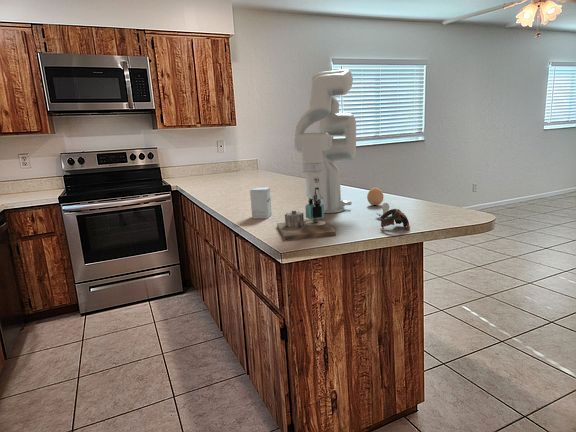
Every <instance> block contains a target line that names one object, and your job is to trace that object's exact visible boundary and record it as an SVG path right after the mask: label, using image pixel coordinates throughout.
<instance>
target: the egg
mask: <svg viewBox="0 0 576 432" xmlns="http://www.w3.org/2000/svg"><path fill="white" fill-rule="evenodd" d="M366 198H367V202H368V203H369V204H370V205H371V206H374V205H377V206H379V205H381V204H382V203H383V201H384V193H383V191H382V190H381V189H380V188H379V187H376V186H375V187H371V189H370V190H369V191H368V193H367V197H366Z"/></svg>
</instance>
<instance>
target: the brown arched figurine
mask: <svg viewBox="0 0 576 432" xmlns="http://www.w3.org/2000/svg"><path fill="white" fill-rule="evenodd" d="M382 214H383V213H382ZM391 214H392V216H391V217H389V218H387V219H385V218H386V217H387V216H389V215H391ZM380 217H382V218H380V219H379V221H380V227H381V228H382V229H384V228H385V227H388V226H395V224H396V225H401V224H402V227H404V228H405V227H406V228H407V231H410V229H411V226H410V222H409V219H408V217H407V216H406V214H405V213H404V212H402V211H401V210H400V209H399V208H392V209H389V210H388V211H387V212H385V213H384V214H383V215H382V216H380Z"/></svg>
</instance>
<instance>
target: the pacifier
mask: <svg viewBox="0 0 576 432" xmlns="http://www.w3.org/2000/svg"><path fill="white" fill-rule="evenodd" d="M381 210H382V213H378V212H376V213H375V214H376V215H377V216H378V217H377V218H378V220H380V218H382V217H381V216H382V215H383V214H384V213H385V212H387V211H389V210H390V204H389V203H388V202H384V203H383V204H382V205H381ZM391 216H392V214H391V215H389V216H387V217H386V218H385V219H387V218H389V217H391Z"/></svg>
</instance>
